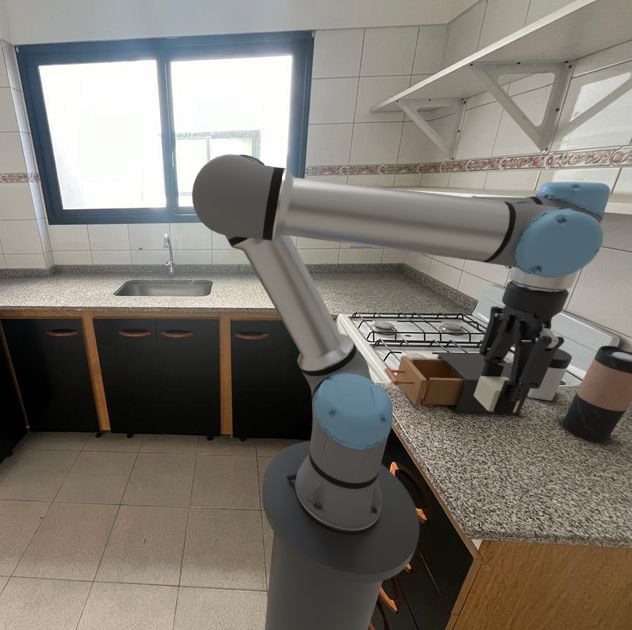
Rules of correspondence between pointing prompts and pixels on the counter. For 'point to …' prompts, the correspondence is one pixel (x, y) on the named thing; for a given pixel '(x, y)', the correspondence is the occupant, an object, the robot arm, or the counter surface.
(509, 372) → the cabinet
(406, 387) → the drawer
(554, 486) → the counter surface
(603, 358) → the travel mug
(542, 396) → the jar
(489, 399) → the block
